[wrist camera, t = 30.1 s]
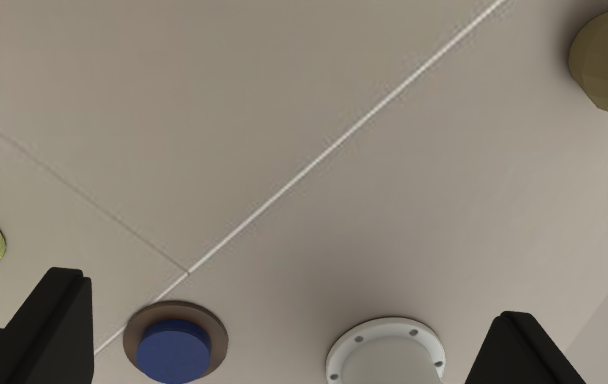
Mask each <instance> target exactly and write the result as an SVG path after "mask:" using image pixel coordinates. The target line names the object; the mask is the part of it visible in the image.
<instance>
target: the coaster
mask: <svg viewBox="0 0 608 384" xmlns="http://www.w3.org/2000/svg"><path fill="white" fill-rule="evenodd" d="M169 319H179V320H185V321H189V322H192V323H194V324H197V325H198V326H199V327H201V328H202V329H203V330H204V331H205V332H206V333H207V334H208V336H209V338H210V340H211V344H212V350H211V357H210V363H209V366H208V368H207V370H206V371H205V372H204V374H203V375H201V376H200V377H199V378H202V377H204V376H206V375H208V374H210V373H211V372H213V371H214V370H215V369H217V368H218V367H219V365H220V364H221V363H222V361H223V360H224V358H225V356H226V353H227V348H228V337H227V333H226V330H225V328H224V326H223V325H222V323H221V322H220V321H219V319H218V318H217V317H216V316H214V315H213V314H212V313H211V312H209V311H207V310H206V309H204V308H202V307H200V306H197V305H194V304H190V303H186V302H175V301H172V302H162V303H157V304H154V305H151V306H149V307H146V308H144V309H143V310H141V311H140V312H138V313H137V314H136V315H135V316H134V317H133V318H132V319H131V320H130V322H129V323H128V325H127V327H126V330H125V333H124V336H123V346H124V350H125V353H126V355H127V357H128V359H129V360H130V362H131V363H132V364H133V365H134V366H135V367H136V368H137V369H139V370H140V371H141V372H142V370H141V369H140V368H139V366H138V364H137V361H136V351H137V348H138V345H139V343H140V340H141V337H142V335H143V333H144V332H145V331H146V330H147V329H148V328H149V327H150V326H151V325H153V324H155V323H157V322H160V321H163V320H169ZM199 378H197V379H199ZM195 380H196V379H195Z"/></svg>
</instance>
